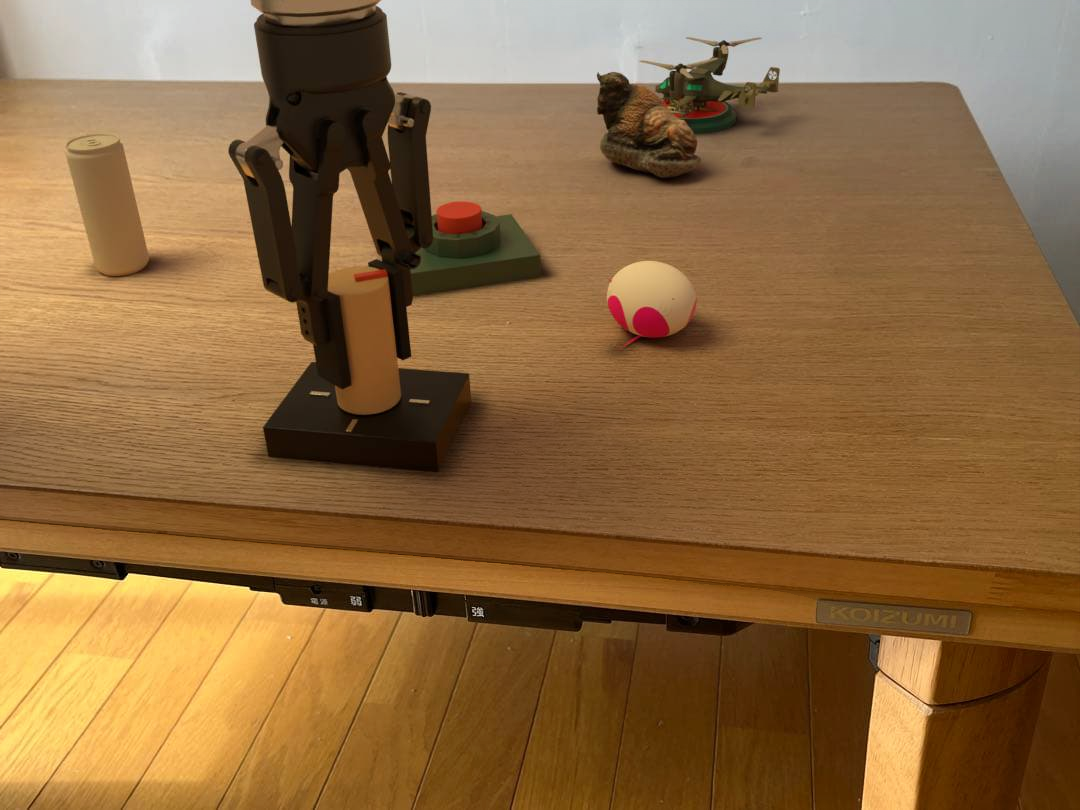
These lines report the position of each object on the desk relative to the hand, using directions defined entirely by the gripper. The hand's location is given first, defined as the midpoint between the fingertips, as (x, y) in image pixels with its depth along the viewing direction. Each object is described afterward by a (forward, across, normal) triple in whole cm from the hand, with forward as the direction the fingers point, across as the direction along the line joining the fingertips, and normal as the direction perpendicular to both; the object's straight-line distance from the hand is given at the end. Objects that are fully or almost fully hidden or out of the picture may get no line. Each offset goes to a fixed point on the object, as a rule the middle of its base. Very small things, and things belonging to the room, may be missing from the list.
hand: (365, 365), depth 75 cm
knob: (+3, 0, 0) cm, 3 cm away
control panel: (+5, 0, 0) cm, 5 cm away
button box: (+5, -23, -16) cm, 28 cm away
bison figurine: (+5, -52, -19) cm, 56 cm away
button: (+2, -23, -16) cm, 28 cm away
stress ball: (+5, -23, +5) cm, 25 cm away
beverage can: (+5, -2, -39) cm, 40 cm away
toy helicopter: (+5, -70, -24) cm, 74 cm away
